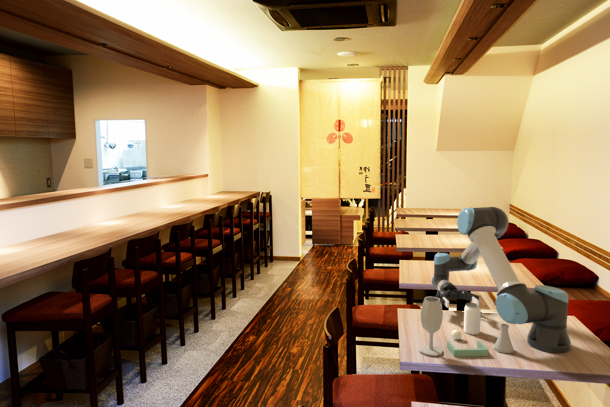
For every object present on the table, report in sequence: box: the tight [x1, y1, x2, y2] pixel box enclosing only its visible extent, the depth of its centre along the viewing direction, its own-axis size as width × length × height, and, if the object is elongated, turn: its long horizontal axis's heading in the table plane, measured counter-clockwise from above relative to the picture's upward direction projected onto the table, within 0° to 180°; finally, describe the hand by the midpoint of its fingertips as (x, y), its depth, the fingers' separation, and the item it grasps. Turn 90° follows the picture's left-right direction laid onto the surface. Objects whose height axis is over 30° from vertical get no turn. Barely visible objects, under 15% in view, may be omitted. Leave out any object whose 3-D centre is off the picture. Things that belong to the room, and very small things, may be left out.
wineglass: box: [419, 296, 444, 357], centre depth 170 cm, size 9×9×21 cm
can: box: [463, 302, 482, 336], centre depth 189 cm, size 6×6×12 cm
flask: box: [493, 323, 515, 354], centre depth 172 cm, size 7×7×10 cm
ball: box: [451, 329, 463, 341], centre depth 182 cm, size 4×4×4 cm
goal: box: [446, 340, 489, 358], centre depth 171 cm, size 8×13×2 cm, turn 91°
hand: (463, 304), depth 198 cm, fingers open, 13 cm apart
